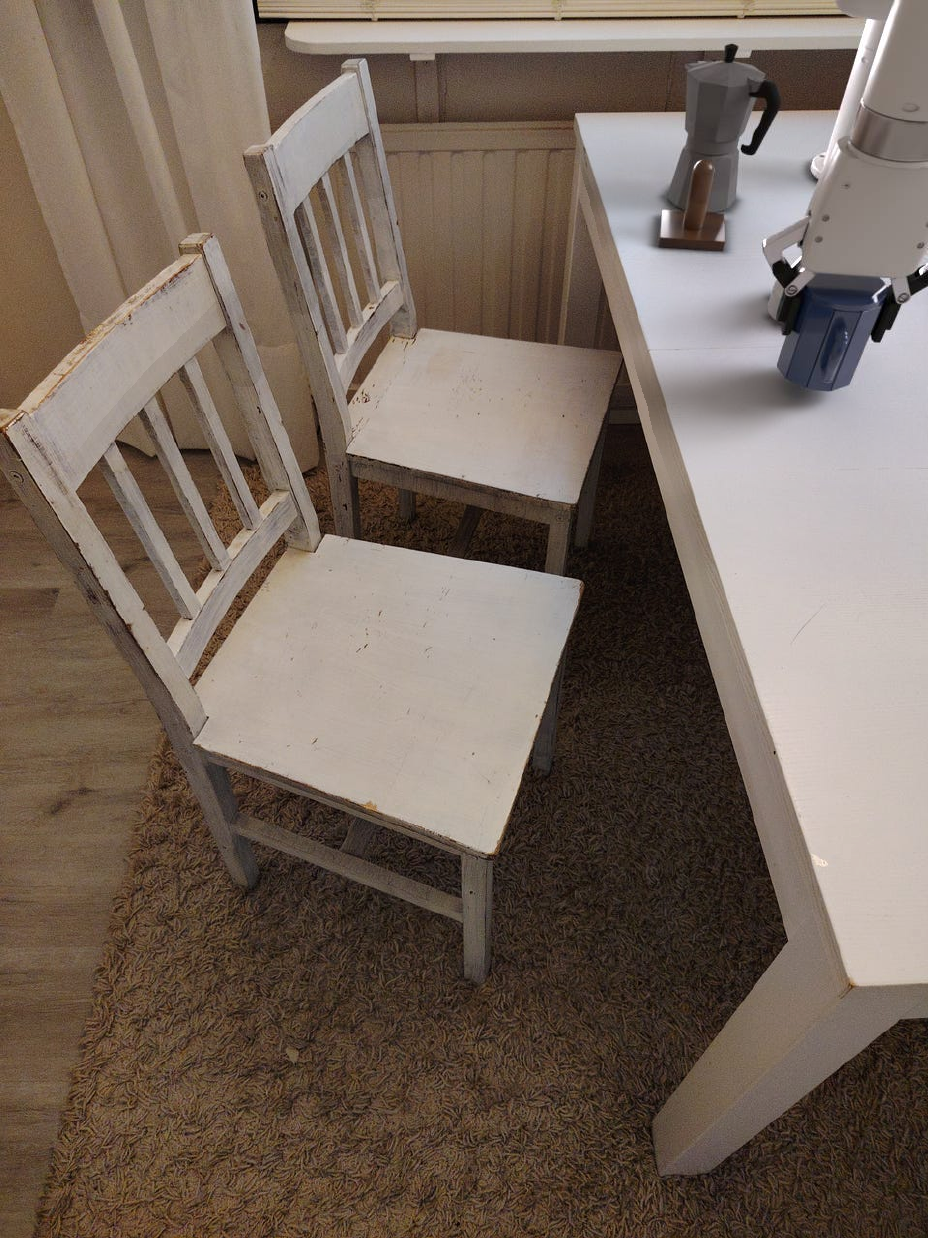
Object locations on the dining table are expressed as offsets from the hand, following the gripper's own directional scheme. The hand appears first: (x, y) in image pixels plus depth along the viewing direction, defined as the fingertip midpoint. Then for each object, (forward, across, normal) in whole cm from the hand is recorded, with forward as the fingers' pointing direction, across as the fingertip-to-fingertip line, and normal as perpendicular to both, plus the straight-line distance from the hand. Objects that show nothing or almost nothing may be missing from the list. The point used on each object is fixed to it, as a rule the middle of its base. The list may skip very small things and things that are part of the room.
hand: (829, 330), depth 76 cm
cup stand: (+7, +12, -32) cm, 35 cm away
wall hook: (+7, -1, -14) cm, 16 cm away
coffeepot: (+7, +10, -42) cm, 44 cm away
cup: (+4, 0, 0) cm, 4 cm away
